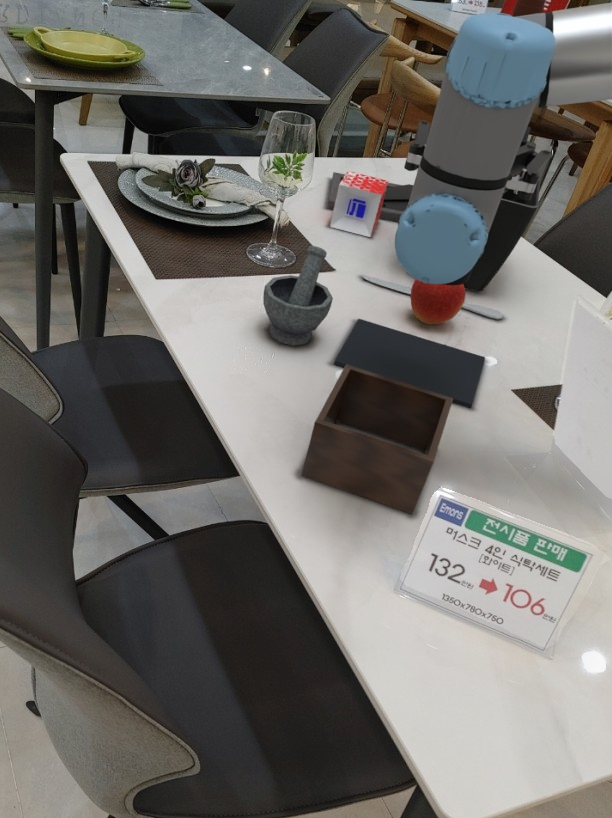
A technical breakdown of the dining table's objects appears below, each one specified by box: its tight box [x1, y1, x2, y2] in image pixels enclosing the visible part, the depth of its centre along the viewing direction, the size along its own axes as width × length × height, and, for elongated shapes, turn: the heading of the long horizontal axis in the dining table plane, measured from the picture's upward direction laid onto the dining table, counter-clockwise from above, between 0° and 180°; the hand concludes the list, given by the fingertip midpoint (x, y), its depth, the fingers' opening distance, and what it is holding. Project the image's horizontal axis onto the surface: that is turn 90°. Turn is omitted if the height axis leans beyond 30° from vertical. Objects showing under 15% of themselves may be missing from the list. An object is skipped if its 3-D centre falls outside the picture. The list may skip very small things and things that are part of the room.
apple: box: [410, 278, 466, 325], centre depth 119 cm, size 8×8×10 cm
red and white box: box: [329, 170, 389, 238], centre depth 144 cm, size 8×8×8 cm
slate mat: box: [333, 318, 486, 409], centre depth 112 cm, size 20×14×1 cm
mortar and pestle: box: [262, 245, 334, 347], centre depth 110 cm, size 11×9×12 cm
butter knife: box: [362, 275, 504, 320], centre depth 128 cm, size 1×24×3 cm
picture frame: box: [327, 171, 414, 223], centre depth 155 cm, size 16×2×21 cm
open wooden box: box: [301, 364, 453, 515], centre depth 91 cm, size 14×14×8 cm
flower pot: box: [463, 175, 542, 293], centre depth 131 cm, size 19×19×17 cm
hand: (488, 130), depth 91 cm, fingers closed on wine bottle, 7 cm apart
